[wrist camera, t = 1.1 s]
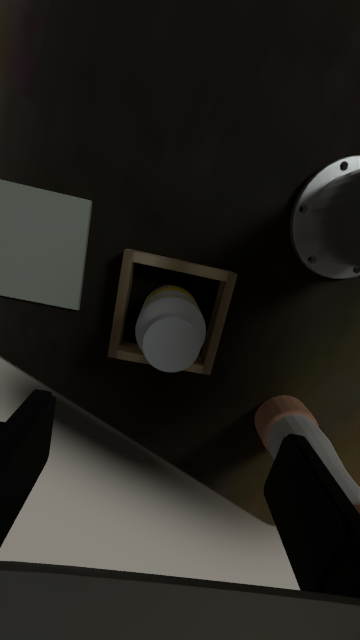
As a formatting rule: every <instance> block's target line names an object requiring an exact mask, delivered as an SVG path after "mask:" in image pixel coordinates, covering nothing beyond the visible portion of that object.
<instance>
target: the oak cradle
mask: <svg viewBox="0 0 360 640" xmlns="http://www.w3.org/2000/svg"><path fill="white" fill-rule="evenodd" d="M135 262H136V263H141V264H146V265H150V266H155V267H160V268H164V269H169V270H174V271H178V272H183V273H188V274H192V275H197V276H202V277H206V278H211V279H216V280H220V283H219V287H218V291H217V295H216V299H215V303H214V307H213V311H212V314H211V318H210V322H209V326H208V330H207V334H206V338H205V342H204V346H203V349H202V353H201V355H198V357H197V358H196V360H195V361H194V362H193V364H191V365H190V366H189V367H188V368H186V369H184V371H189V372H195V373H201V374H206V375H210V374H211V370H212V367H213V363H214V359H215V356H216V352H217V348H218V345H219V341H220V337H221V334H222V330H223V326H224V323H225V319H226V315H227V312H228V308H229V304H230V301H231V297H232V293H233V290H234V286H235V282H236V279H237V275H238V274H236V273H234V272H232V271H228V270H223V269H218V268H214V267H209V266H205V265H200V264H196V263H191V262H186V261H182V260H177V259H173V258H168V257H164V256H159V255H155V254H150V253H145V252H141V251H136V250H132V249H125V250H124V254H123V261H122V267H121V274H120V280H119V287H118V293H117V300H116V306H115V312H114V319H113V325H112V332H111V338H110V345H109V351H108V357H111V358H116V359H122V360H128V361H133V362H139V363H144V364H150V363H149V362H148V361H147V359H146V358H145V356H144V353H143V352H142V350H141V349H140V347H139V345H138V344H136V343H130V342H125V341H122V339H123V333H124V327H125V321H126V315H127V309H128V303H129V297H130V291H131V285H132V279H133V273H134V267H135ZM150 365H151V364H150Z"/></svg>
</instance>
